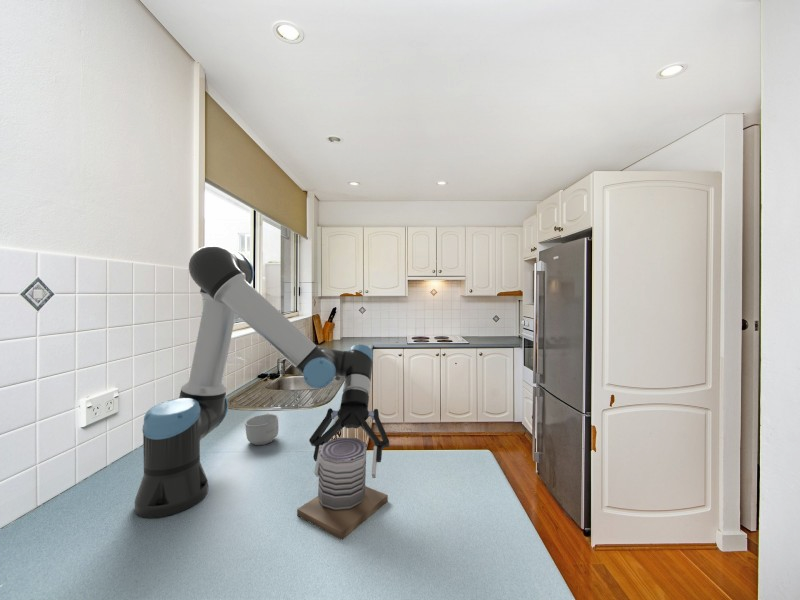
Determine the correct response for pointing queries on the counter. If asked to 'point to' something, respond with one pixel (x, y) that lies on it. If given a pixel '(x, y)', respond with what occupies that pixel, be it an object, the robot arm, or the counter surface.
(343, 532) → the walnut board
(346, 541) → the counter surface
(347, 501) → the can
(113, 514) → the counter surface
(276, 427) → the teacup
